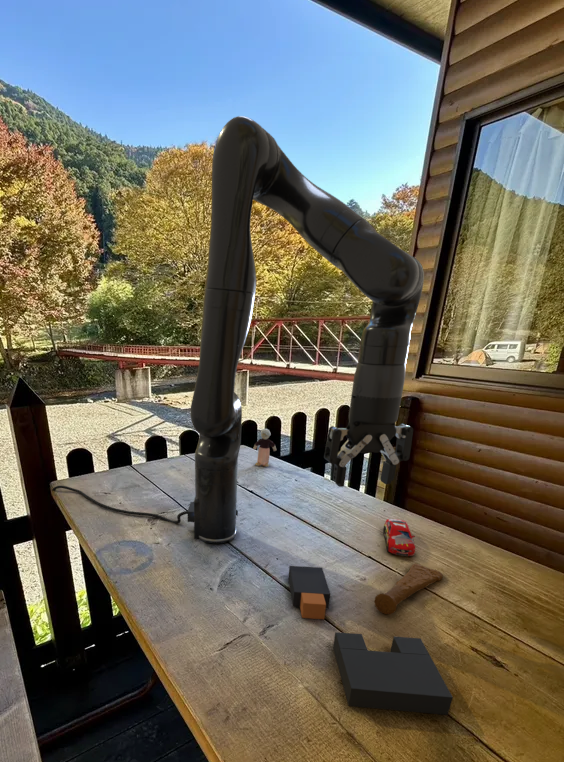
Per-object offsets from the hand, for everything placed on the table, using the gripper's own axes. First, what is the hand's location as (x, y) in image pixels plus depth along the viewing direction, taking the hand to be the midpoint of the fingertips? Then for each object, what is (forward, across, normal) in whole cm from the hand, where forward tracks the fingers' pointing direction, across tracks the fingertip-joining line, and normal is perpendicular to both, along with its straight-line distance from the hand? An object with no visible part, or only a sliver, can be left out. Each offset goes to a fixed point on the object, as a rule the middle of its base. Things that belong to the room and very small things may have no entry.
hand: (362, 484), depth 72 cm
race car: (+19, -16, -10) cm, 27 cm away
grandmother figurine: (+19, -1, -64) cm, 67 cm away
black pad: (+19, +6, +24) cm, 31 cm away
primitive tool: (+19, -8, +6) cm, 22 cm away
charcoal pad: (+19, +10, +6) cm, 22 cm away
